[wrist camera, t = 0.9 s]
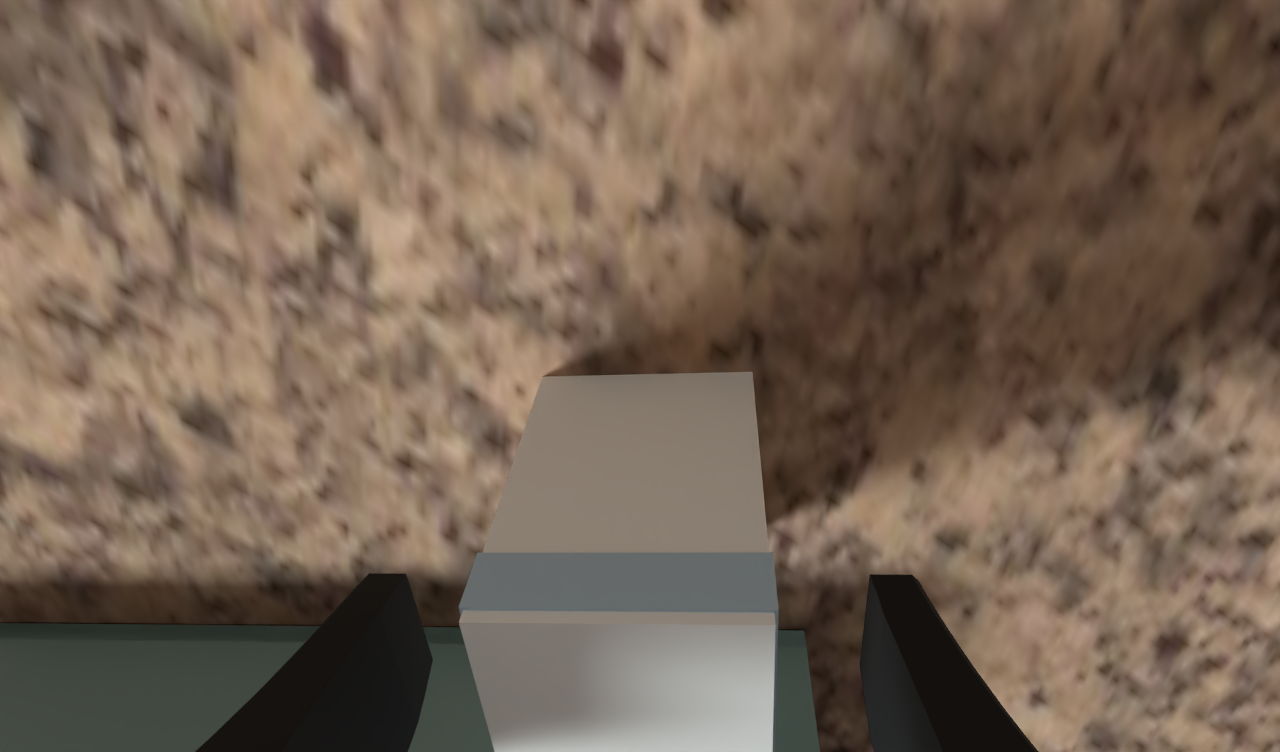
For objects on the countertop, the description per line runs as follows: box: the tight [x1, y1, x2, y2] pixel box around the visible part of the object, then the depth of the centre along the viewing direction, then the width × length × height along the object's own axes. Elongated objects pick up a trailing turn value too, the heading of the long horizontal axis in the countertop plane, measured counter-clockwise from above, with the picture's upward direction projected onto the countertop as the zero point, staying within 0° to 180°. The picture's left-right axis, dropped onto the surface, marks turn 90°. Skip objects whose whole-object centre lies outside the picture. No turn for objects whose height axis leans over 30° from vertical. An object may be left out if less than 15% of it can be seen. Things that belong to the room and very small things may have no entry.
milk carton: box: [458, 372, 779, 752], centre depth 13 cm, size 4×4×6 cm
